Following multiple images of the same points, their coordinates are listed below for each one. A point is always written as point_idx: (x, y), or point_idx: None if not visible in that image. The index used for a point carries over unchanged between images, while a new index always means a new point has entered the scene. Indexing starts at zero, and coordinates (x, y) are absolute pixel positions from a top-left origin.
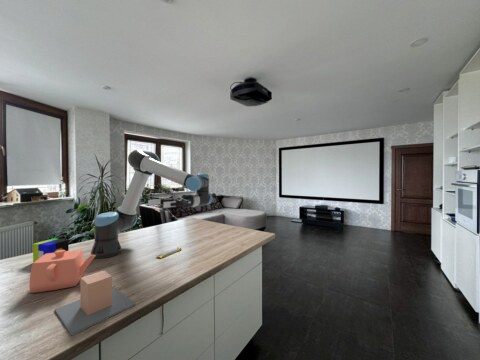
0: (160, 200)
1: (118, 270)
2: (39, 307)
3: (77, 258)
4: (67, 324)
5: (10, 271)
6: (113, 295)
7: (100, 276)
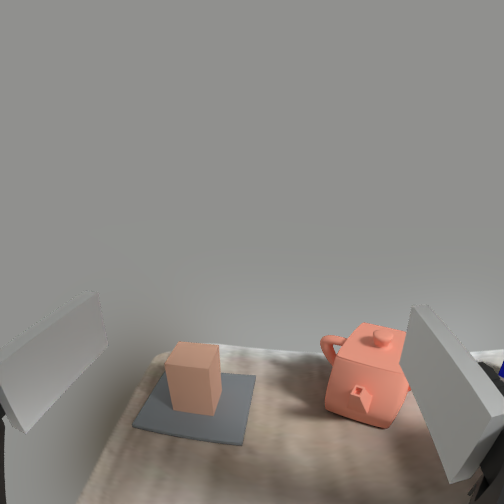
0: (480, 437)
1: (350, 492)
2: (288, 371)
3: (348, 365)
4: None
5: (480, 355)
6: (202, 426)
7: (186, 356)
